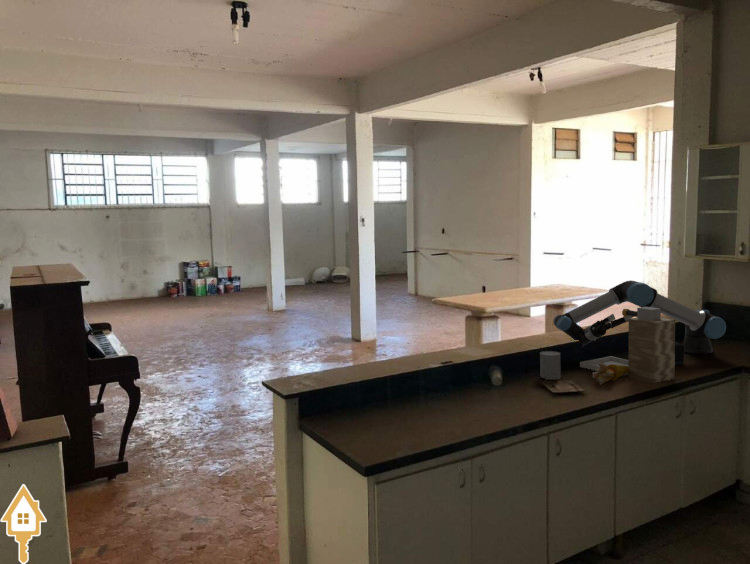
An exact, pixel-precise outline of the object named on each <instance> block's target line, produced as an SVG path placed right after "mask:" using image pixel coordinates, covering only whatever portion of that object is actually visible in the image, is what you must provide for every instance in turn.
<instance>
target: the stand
mask: <svg viewBox="0 0 750 564" xmlns="http://www.w3.org/2000/svg"><path fill="white" fill-rule="evenodd" d="M675 342H676V320H675V319H673V318H667V317H661V319H659V320H653V321H651V320H644V319H638V318H637V317H633V318H631V319H629V321H628V360H629V375H628V378H631V379H635V380H638V379H639V380H638V381H643V382H646V381H647V382H646V383H650V382H651V383H650V384H653V383H654V384H658V383H657V382H659V383H661V382H662V381H663V382H667V381H671V379H672V380H675V377H676V375H675V373H676V370H675V369H676V367H675V366H676V365H675ZM666 380H667V381H666Z"/></svg>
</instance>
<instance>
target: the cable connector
mask: <svg viewBox="0 0 750 564" xmlns="http://www.w3.org/2000/svg"><path fill="white" fill-rule="evenodd" d="M621 313H622V317H623V316H633V318H638V319H644V320H651V321H653V320H659V319H661V318H662V313H661V309H660V308H653V307H637V309H636V310H631V309H630V308H629V309H628V308H623V309H622V310H621Z"/></svg>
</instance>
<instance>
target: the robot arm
mask: <svg viewBox="0 0 750 564" xmlns="http://www.w3.org/2000/svg"><path fill="white" fill-rule="evenodd" d="M623 303H630V304H633V305H635V306H637V307H638V308H640V307H653V308H660V309H661V315H665V316H667V317H669V318H670V319H675V321H678V322H679V323H682V324H684V331H685V332H684V339H683V342H682V343H681V344H682V345H684V353H686V352H687V354H692V353H693V355H708V353H709V354H713V350H714V348H713V345H712V343H711V339H713V340H714V339H715V340H717V339H719V338H721V337H723V336H724V334H725V333H726V330H727V323H726V322H725V320H724V319H723V318H721V317H720V316H716V315H713V314H711V313H710V310H709V309H693V308H691V307H689V306H687V305H684V304H681V303H680V302H678V301H675V300H673V299H670V298H669V297H666V296H664V295H662V294H659V293H658V290H657V289H656V288H654V287H652V286H650V285H649V284H648V283H644V282H639V281H635V280H625V281H623V282H621V283H619V284H617V285H615V286H613V287H611V288H610V289H609V290H608V291H607V292H605V293H603V294H602V295H600V296H598V297H595V298H593V299H591V300H590V301H588V302H586V303H584V304H582V305H579V306H577V307H576V308H574V309H571V310H570V311H568V312H565V313H564V314H557V315H556V316H555V317H554V318H553V325H554V326H555V327H556V329H559V330H560V331H562V332H563V333H565V334H566V335H567V336H569V337H570V338H571V339H572V338H573V339H574V340H579V341H581V344H582V345H583V346H582V347H585V346H587V345H588V344H589V343H592V342H596V341H597V339H599V338H601V337H603V336H605V335H606V333H607V331H608V330H610V329H614V328H615V327H618V326H621V325H623V324H626V323H629V319H631V318H634V317H633V316H623V315H622V317H619V318H617V319H616V316H615V314H614V313H611V314H610V315H608V316H606V317H604V318H603V319H600V320H596V322H594V323H593V324H591V325H588V326H587V327H585V328H583V327H582V326H580V325H579V324H578V323H580V322H582V321H584V320H586V319H588V318H590V317H592V316H594V315H596V314H598V313H601V312H602V311H604V310H607V309H608V308H610V307H613V306H614V305H618V306H619V305H621V304H623Z"/></svg>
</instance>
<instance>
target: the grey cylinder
mask: <svg viewBox="0 0 750 564" xmlns="http://www.w3.org/2000/svg"><path fill="white" fill-rule="evenodd" d="M539 365H540V366H539V368H540V369H539V372H540V373H539V374H540V376H541V377H542V378H546V379H560V378H561V374H562V371H561V369H562V368H561V352H560V351H559V352H558V351H554V350H553V351H552V350H544V351H540V352H539ZM560 380H561V379H560Z"/></svg>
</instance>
